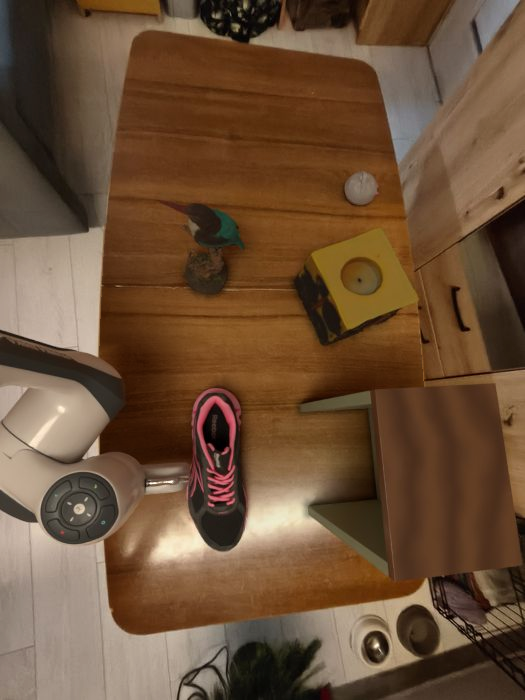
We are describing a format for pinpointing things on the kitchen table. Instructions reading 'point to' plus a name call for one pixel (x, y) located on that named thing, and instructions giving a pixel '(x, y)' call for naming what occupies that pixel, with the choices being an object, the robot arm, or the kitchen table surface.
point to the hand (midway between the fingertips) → (127, 474)
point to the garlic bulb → (360, 188)
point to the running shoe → (217, 470)
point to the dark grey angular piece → (360, 516)
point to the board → (443, 481)
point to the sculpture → (207, 245)
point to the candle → (353, 286)
